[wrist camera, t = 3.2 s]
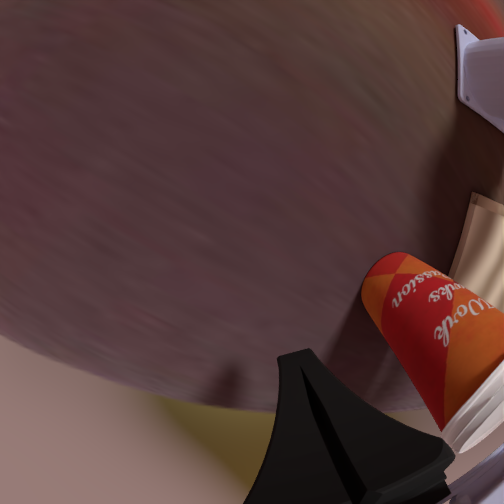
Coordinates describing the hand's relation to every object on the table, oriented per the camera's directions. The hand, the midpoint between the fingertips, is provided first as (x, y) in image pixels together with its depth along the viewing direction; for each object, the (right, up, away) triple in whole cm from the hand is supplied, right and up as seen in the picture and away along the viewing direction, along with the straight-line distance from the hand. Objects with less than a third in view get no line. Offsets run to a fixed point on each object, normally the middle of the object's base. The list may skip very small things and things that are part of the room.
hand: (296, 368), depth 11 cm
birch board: (+24, +1, +12) cm, 27 cm away
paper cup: (+9, +2, +10) cm, 13 cm away
